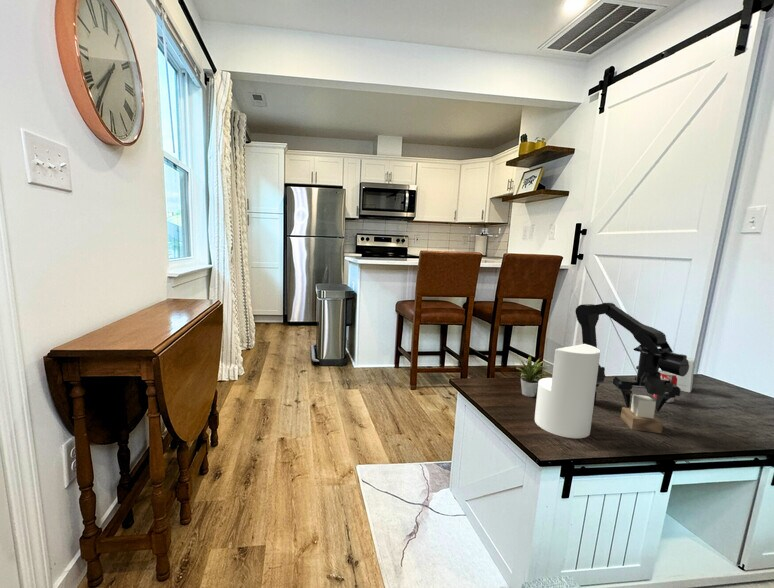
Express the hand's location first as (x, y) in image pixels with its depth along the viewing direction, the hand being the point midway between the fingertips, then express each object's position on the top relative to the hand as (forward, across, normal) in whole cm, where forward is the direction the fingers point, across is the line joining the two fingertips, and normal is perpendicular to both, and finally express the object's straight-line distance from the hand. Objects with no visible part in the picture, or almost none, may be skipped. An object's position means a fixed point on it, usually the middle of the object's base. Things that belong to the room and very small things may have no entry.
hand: (642, 409), depth 124 cm
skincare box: (+6, +36, +47) cm, 60 cm away
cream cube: (+2, 0, 0) cm, 2 cm away
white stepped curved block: (+6, -28, -9) cm, 30 cm away
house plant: (+6, -35, +15) cm, 39 cm away
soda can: (+6, +21, +29) cm, 36 cm away
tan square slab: (+6, 0, 0) cm, 6 cm away
